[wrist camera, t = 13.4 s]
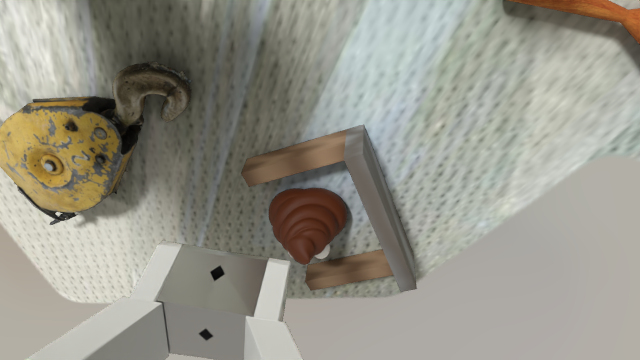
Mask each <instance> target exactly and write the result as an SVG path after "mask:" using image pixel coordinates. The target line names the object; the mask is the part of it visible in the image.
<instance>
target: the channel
mask: <svg viewBox="0 0 640 360" xmlns="http://www.w3.org/2000/svg"><path fill="white" fill-rule="evenodd" d="M341 161H345V163H346V166H347V168H348V170H349V173H350V175H351V177H352V180H353V182H354V184H355V187H356V189H357V191H358V194H359V196H360V198H361V201H362V203H363V205H364V207H365V210H366V212H367V214H368V217H369V219H370V221H371V224H372V226H373V228H374V231H375V233H376V235H377V238H378V240H379V242H380V245H381V247H382V250H377V251H372V252H368V253H363V254H358V255H353V256H348V257H344V258H339V259H334V260H329V261H324V262H320V263H315V264H310V265H308V267H307V273H306V279H305V282H306V283H307V285H308V287H309V288H310V290H316V289H322V288H327V287H332V286H338V285H343V284H348V283H353V282H359V281H364V280H369V279H374V278H380V277H385V276H390V275H394V277H395V279H396V282H397V284H398V286H399V289H400V291H401V292H403V291H408V290H413V289H416V277H415V267H414V257H413V252H412V250H411V247H410V244H409V242H408V239H407V237H406V234H405V231H404V229H403V226H402V223H401V221H400V218H399V216H398V213H397V210H396V208H395V205H394V203H393V200H392V197H391V195H390V192H389V189H388V187H387V184H386V182H385V179H384V176H383V174H382V171H381V169H380V166H379V163H378V161H377V158H376V156H375V153H374V150H373V148H372V145H371V142H370V140H369V137H368V135H367V132H366V129H365V127H364V125H360V126H357V127H353V128H350V129H347V130H343V131H340V132H337V133H333V134H330V135H326V136H323V137H320V138H316V139H313V140H310V141H306V142H303V143H299V144H296V145H293V146H289V147H286V148H283V149H279V150H276V151H272V152H269V153H266V154H262V155H259V156H255V157H252V158H249V159H247V160H246V163H245V165H244V168H243V170H242V172H241V174H242V176H243V178H244V179H245V181H246V183H247V184H248V186H249V187H250V186H253V185H257V184H261V183H264V182H268V181H272V180H275V179H279V178H283V177H286V176H290V175H293V174H297V173H301V172H304V171H308V170H312V169H315V168H319V167H323V166H326V165H330V164H333V163H337V162H341Z"/></svg>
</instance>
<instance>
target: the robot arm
mask: <svg viewBox="0 0 640 360" xmlns="http://www.w3.org/2000/svg"><path fill="white" fill-rule="evenodd" d="M290 266H291V261H286V260H280V259H274V258H269V257H262V256H255V255H249V254H242V253H235V252H228V251H227V252H224V251H219V250H214V249H208V248H203V247H197V246H192V245H187V244H180V243H174V242H169V241H162V242H161V243H160V244H158V245H157V247H156V249H155V251H154V253H153V255H152V256H151V258H150V260H149V262H148V264H147V266H146V268H145V269H144V271H143V273H142V275H141V277H140V279H139V281H138V283H137V284H136V286H135V288H134V290H133V292H132V294H131V296H130V297H121V298H120V299H118V300H117V301H115V302H114V303H112V304H110V305H109V306H107V307H106V308H104V309H103V310H101V311H100V312H98V313H97V314H95V315H94V316H92V317H91V318H89V319H88V320H86V321H84V322H83V323H81V324H79V325H78V326H76V327H75V328H73V329H72V330H70V331H69V332H67V333H65V334H64V335H62V336H61V337H59V338H58V339H56V340H55V341H53V342H51V343H50V344H49V345H47V346H45V347H44V348H42V349H41V350H39V351H37V352H36V353H34V354H33V355H31V356H30V357H28V358H27V359H25V360H165V359H166V358H167V357H168V356H169V353H172V354H179V355H187V356H195V357H202V358H209V359H214V360H303V358H302V356H301V354H300V352H299V349H298V347H297V345H296V343H295V341H294V339H293V337H292V334H291V332H290V331H289V328H288V326H287V324H286V322H282V321H283V316H284V309H285V302H286V295H287V288H288V281H289V274H290Z"/></svg>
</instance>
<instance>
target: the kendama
mask: <svg viewBox="0 0 640 360" xmlns="http://www.w3.org/2000/svg"><path fill="white" fill-rule="evenodd" d="M508 1H513V2H518V3H523V4H529V5H534V6H539V7H544V8H549V9H554V10H559V11H564V12H569V13H574V14H579V15H584V16H589V17H594V18H599V19H605V20H610V21H615V22H620V23H621V24H622V25H623V26H624V27H625V28H626V29H627V31H628V32H629V33H630V34H631V35H632V36H633V37H634V39H635V40H636V41H637V42H638V43H639V44H640V8H639V9H631V10H627V9H625V8H623V7H621V6H619V5H617V4H615V3H613V2H611V1H609V0H508Z"/></svg>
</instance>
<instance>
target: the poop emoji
mask: <svg viewBox="0 0 640 360" xmlns="http://www.w3.org/2000/svg"><path fill="white" fill-rule="evenodd" d="M269 220H270V222H271V224H272V226H273V232H274V235H275V237H276V239H277V240H278V241H279V242H280V243H281V244H282V246H283V247H284V248H285V249H286V250H287V251H288V254H289V255H290V257H292V258H294V259H295V260H296V261H297V262H299V263H300V264H303V265H306V264H309V262H310V260H311V259H312V258H313V256H315V257H316V258H318V259H323V258H325V257H327V255H328V254H329V251H330V245H329V243H330V242H331V241H332V240H333V239H334V237H335V236H336V235H337V234H339V233H340V232H341V231H342V229H343V228H344V226H345V224H346V222H347V209H346V206H345V204H344V202H343V201H342V199H341V198H340V197H339V196H338V195H336V194H335V193H333V192H331V191H329V190H326V189H322V188H308V189H299V188H294V189H288V190H285V191H283V192H281V193H279V194H278V195H277V196H276V197H275V198H274V199H273V200H272V202H271V204H270V207H269Z"/></svg>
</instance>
